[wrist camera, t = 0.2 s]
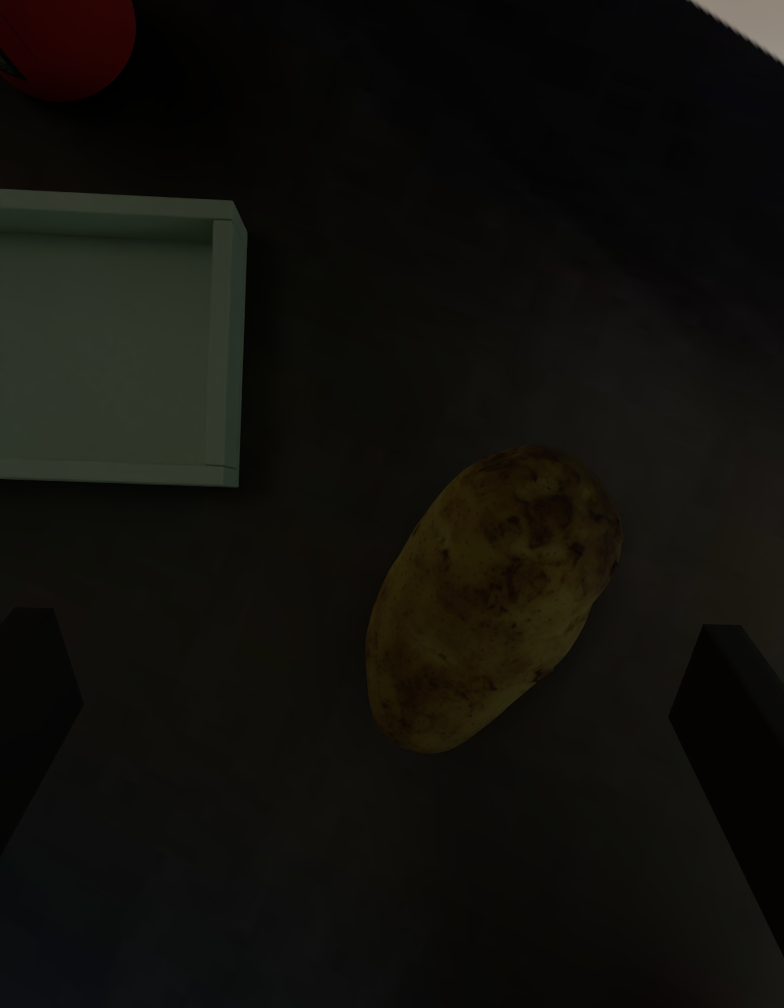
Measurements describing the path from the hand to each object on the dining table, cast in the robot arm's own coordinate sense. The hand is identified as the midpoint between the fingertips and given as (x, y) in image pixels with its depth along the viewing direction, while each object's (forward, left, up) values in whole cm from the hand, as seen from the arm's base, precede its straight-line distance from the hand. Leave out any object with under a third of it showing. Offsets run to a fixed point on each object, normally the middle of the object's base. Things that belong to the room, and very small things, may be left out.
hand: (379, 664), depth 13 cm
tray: (+10, +15, -15) cm, 23 cm away
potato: (0, -4, -15) cm, 16 cm away
